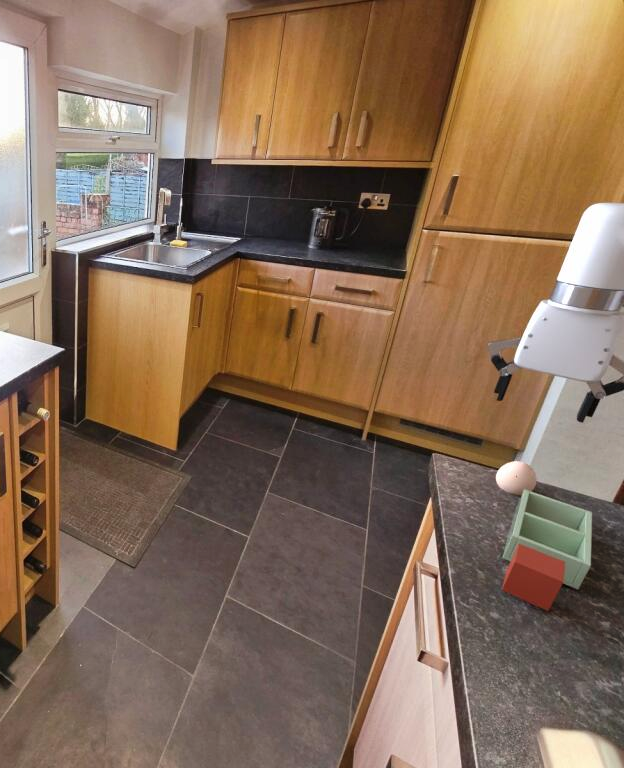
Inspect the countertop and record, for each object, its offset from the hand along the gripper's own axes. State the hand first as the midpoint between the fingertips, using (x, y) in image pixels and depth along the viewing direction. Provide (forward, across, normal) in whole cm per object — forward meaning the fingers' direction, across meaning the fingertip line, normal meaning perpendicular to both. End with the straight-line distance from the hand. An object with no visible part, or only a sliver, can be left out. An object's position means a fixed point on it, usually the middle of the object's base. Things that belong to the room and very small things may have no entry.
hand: (538, 408), depth 75 cm
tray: (+16, -6, +11) cm, 20 cm away
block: (+16, -5, +24) cm, 29 cm away
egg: (+16, -1, -2) cm, 16 cm away
